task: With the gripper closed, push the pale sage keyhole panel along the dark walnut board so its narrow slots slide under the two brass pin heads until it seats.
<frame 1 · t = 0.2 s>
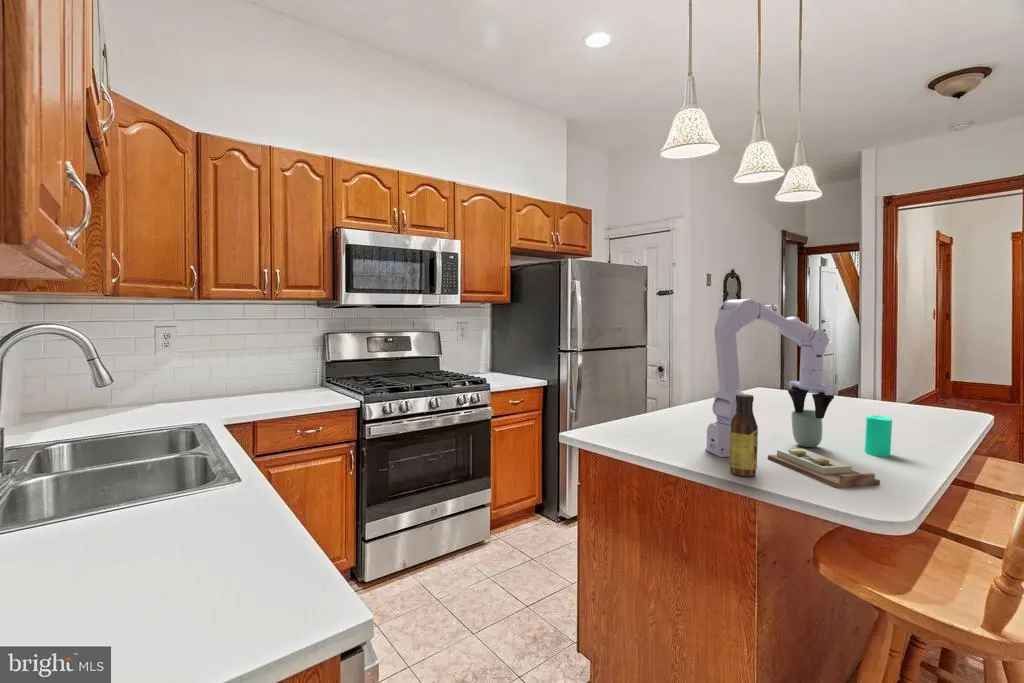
hand: (809, 415, 149), 10 cm above the counter, fingers open, 7 cm apart
panel: (812, 460, 132), point 2 cm above the counter, slide at 0.0 cm
sauce bottle: (742, 474, 127), on the counter
candle: (877, 454, 145), on the counter
board: (819, 470, 129), on the counter
cup: (808, 445, 152), on the counter, touching gripper
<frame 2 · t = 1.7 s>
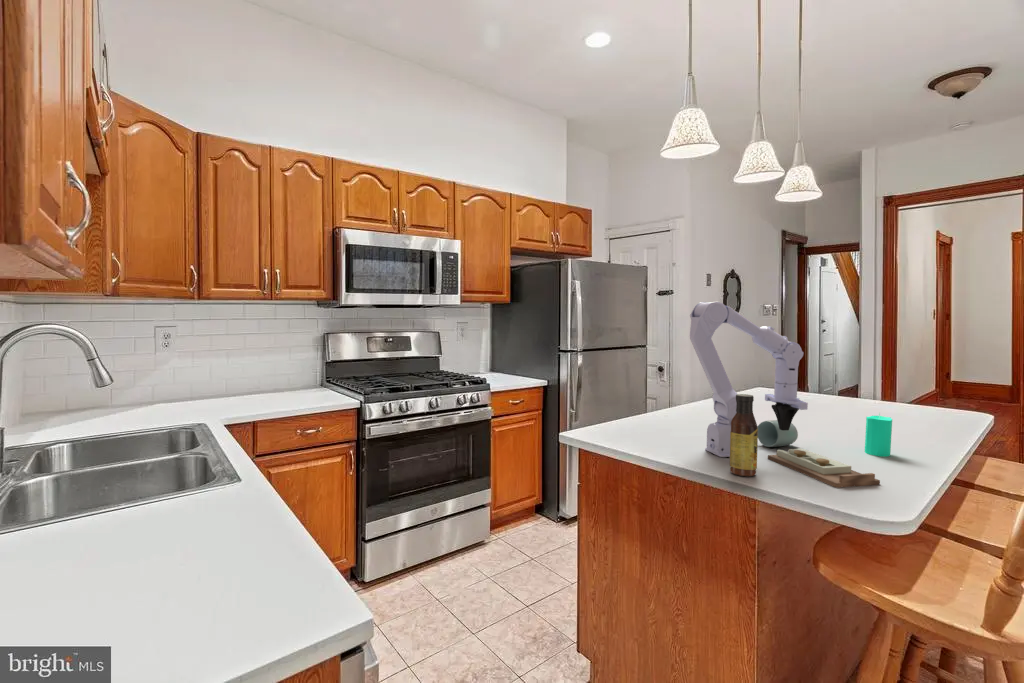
hand: (784, 429, 145), 7 cm above the counter, fingers closed
cup: (791, 432, 154), point 4 cm above the counter
everything else where it was.
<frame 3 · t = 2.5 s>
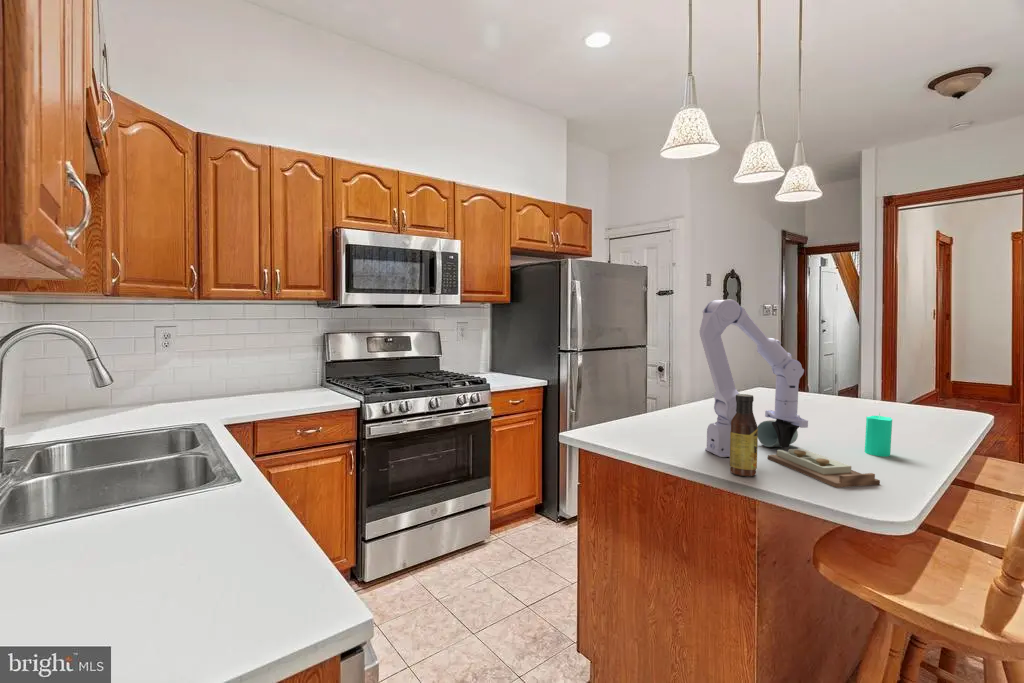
hand: (784, 446, 145), 2 cm above the counter, fingers closed
nothing on the counter moved.
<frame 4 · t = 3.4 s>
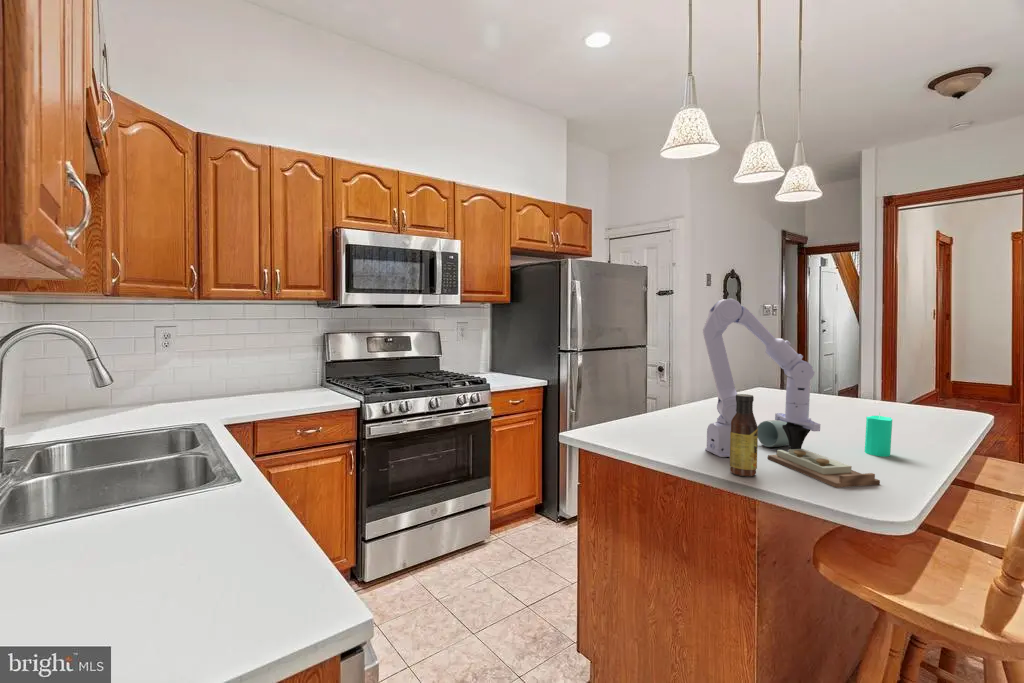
hand: (795, 450, 141), 2 cm above the counter, fingers closed
panel: (812, 460, 132), point 2 cm above the counter, slide at 0.0 cm, touching gripper
everything else where it was.
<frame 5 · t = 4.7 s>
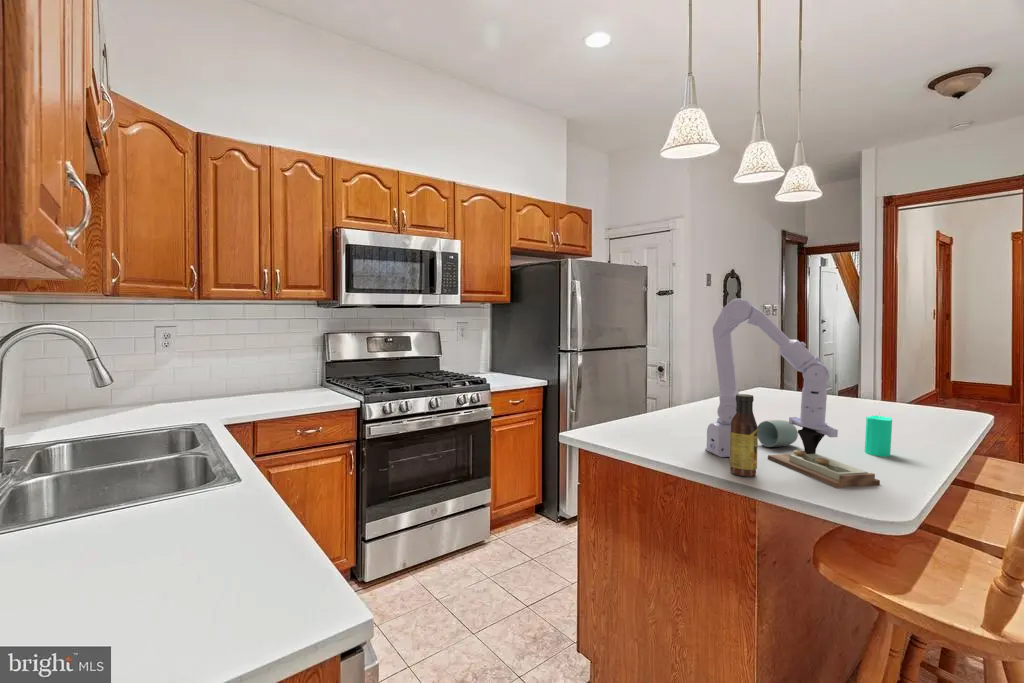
hand: (810, 456, 135), 2 cm above the counter, fingers closed, pressing on panel
panel: (826, 466, 127), point 2 cm above the counter, slide at 4.6 cm, touching board, gripper
everything else where it was.
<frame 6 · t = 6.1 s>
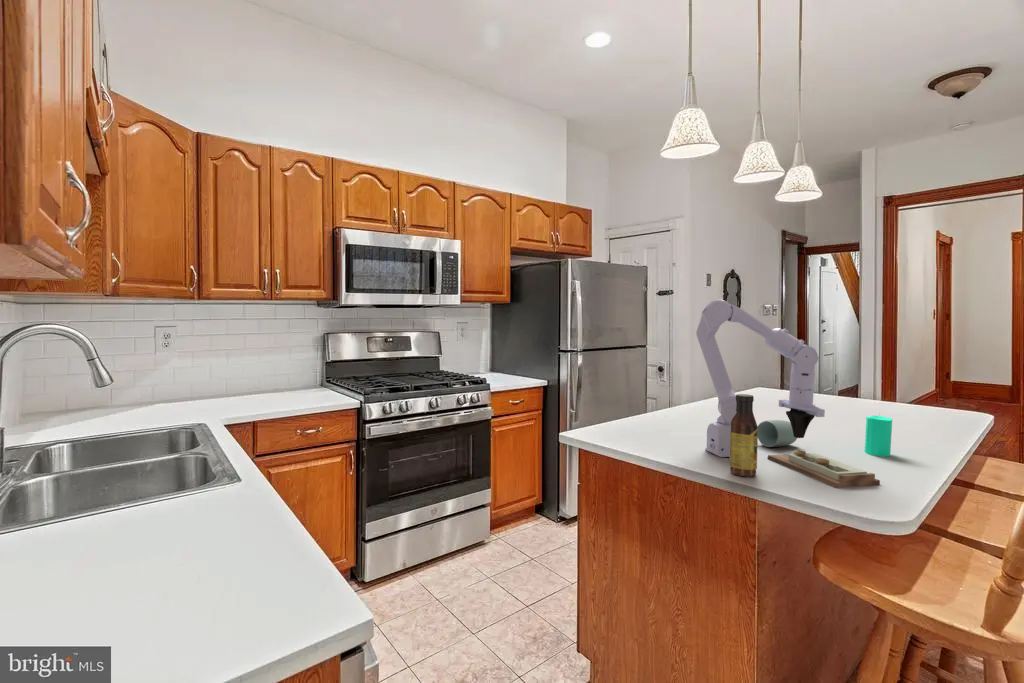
hand: (798, 437, 139), 6 cm above the counter, fingers closed
panel: (825, 465, 127), point 2 cm above the counter, slide at 4.3 cm
everything else where it was.
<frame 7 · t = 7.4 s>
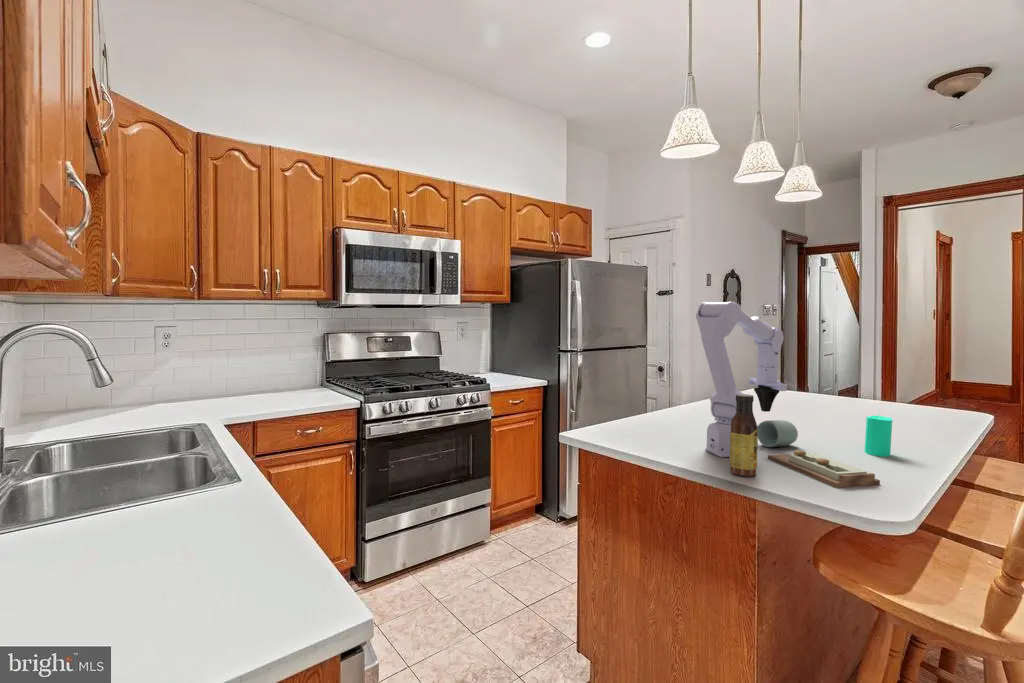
hand: (765, 411, 153), 10 cm above the counter, fingers closed
nothing on the counter moved.
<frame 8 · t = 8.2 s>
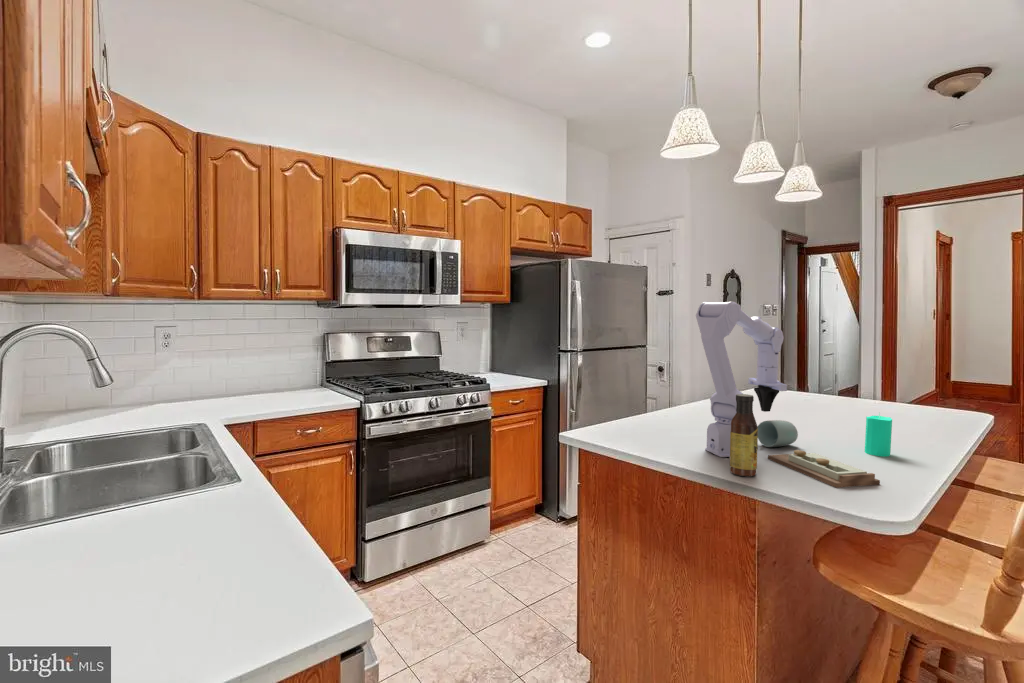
hand: (765, 411, 153), 10 cm above the counter, fingers closed
nothing on the counter moved.
at the end: panel slide at 4.3 cm; panel touching nothing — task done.
